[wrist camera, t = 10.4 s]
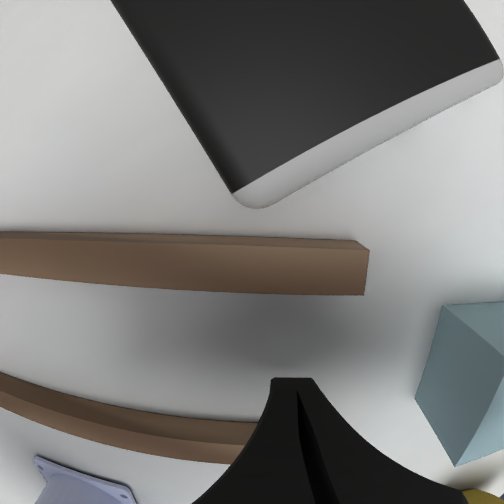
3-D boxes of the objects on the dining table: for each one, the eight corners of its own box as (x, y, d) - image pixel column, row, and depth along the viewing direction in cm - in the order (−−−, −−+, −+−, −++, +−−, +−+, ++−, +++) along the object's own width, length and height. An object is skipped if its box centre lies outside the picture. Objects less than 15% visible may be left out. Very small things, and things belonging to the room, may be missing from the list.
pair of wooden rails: (321, 442, 13) (325, 464, 12) (-6, 385, 14) (-19, 397, 12) (356, 241, 11) (369, 250, 9) (-45, 231, 11) (-63, 237, 10)
